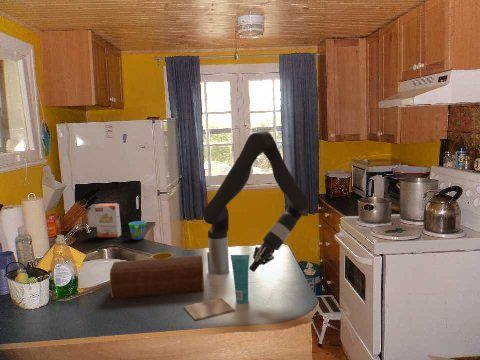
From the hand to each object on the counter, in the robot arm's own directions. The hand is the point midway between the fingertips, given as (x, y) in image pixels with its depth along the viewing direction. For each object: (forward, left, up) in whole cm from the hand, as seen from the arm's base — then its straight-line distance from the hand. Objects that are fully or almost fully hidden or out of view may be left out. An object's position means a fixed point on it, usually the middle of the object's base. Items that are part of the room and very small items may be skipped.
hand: (251, 270), depth 182 cm
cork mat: (-11, -16, -12) cm, 23 cm away
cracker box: (-132, +51, -12) cm, 142 cm away
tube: (-3, -4, -12) cm, 13 cm away
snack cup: (-110, +54, -12) cm, 123 cm away
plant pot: (-52, +7, -12) cm, 54 cm away
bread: (-42, -7, -12) cm, 45 cm away
